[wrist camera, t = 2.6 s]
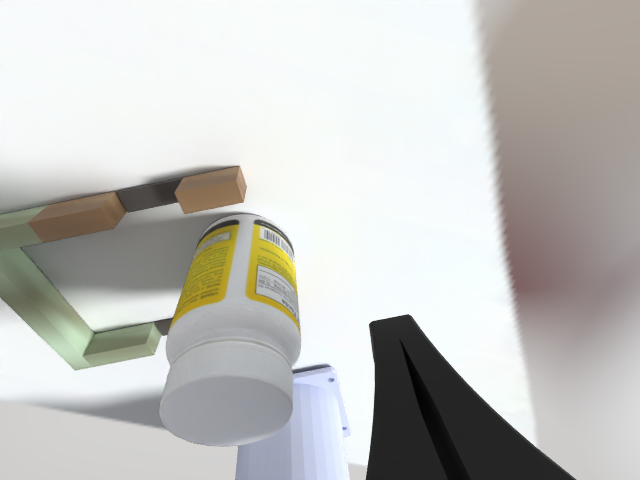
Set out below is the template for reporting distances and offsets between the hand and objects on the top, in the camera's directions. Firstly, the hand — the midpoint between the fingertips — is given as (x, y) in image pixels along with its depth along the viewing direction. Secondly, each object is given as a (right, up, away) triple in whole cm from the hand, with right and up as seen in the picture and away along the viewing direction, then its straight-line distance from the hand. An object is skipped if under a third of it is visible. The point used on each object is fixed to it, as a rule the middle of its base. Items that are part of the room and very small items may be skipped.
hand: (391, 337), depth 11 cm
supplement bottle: (-6, +3, +6) cm, 9 cm away
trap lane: (-11, +2, +6) cm, 12 cm away
